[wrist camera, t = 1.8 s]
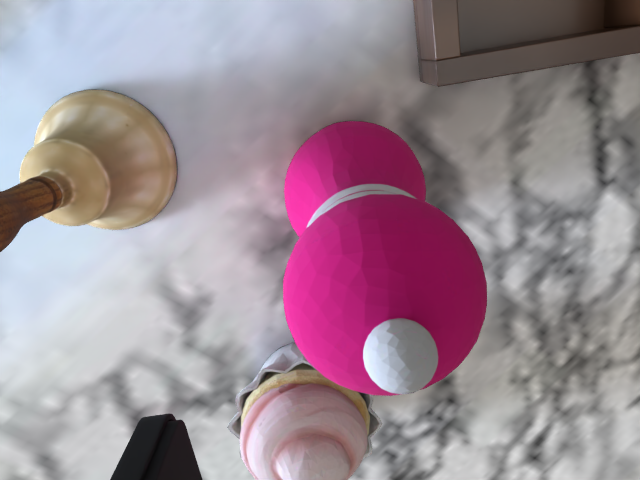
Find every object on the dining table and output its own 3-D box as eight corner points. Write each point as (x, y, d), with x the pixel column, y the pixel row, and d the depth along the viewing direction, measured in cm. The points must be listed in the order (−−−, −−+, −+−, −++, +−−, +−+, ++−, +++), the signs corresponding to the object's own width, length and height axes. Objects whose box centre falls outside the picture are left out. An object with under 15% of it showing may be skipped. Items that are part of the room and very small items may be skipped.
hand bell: (25, 202, 30) (-258, 349, 15) (48, 67, 28) (-269, 84, 13) (159, 246, 31) (16, 422, 16) (193, 119, 29) (60, 193, 14)
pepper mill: (296, 236, 31) (268, 511, 12) (280, 118, 29) (217, 244, 10) (411, 224, 31) (559, 486, 12) (406, 105, 28) (583, 206, 10)
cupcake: (217, 401, 36) (182, 525, 26) (277, 297, 33) (261, 396, 23) (331, 449, 37) (337, 583, 28) (397, 355, 34) (428, 469, 25)
